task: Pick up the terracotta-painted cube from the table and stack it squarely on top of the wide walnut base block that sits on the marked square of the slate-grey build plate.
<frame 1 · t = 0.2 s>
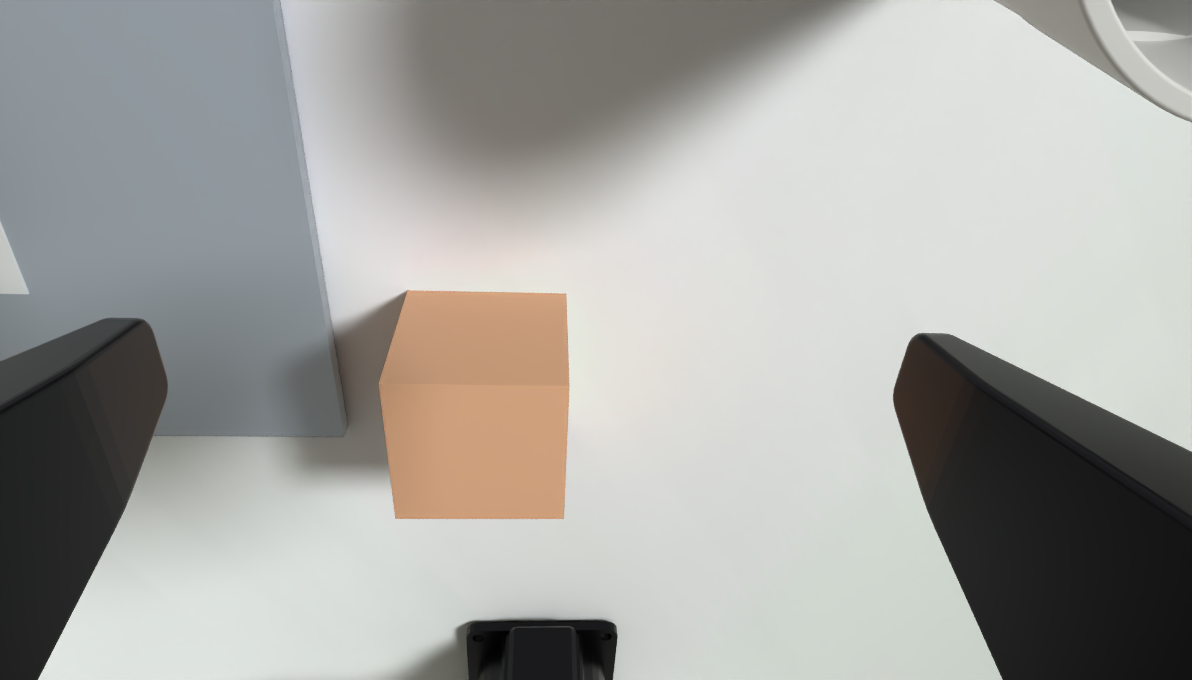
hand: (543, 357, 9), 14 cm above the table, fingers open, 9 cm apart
top block: (489, 355, 26), on the table
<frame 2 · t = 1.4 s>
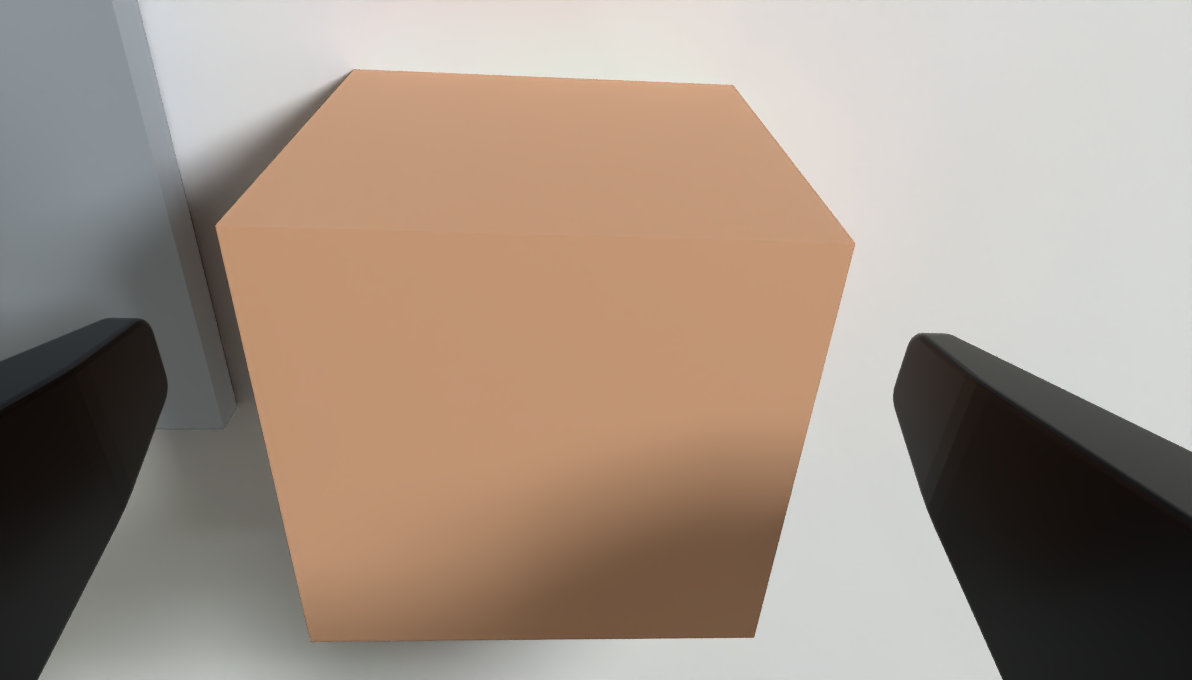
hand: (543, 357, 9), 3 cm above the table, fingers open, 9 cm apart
top block: (543, 246, 12), on the table
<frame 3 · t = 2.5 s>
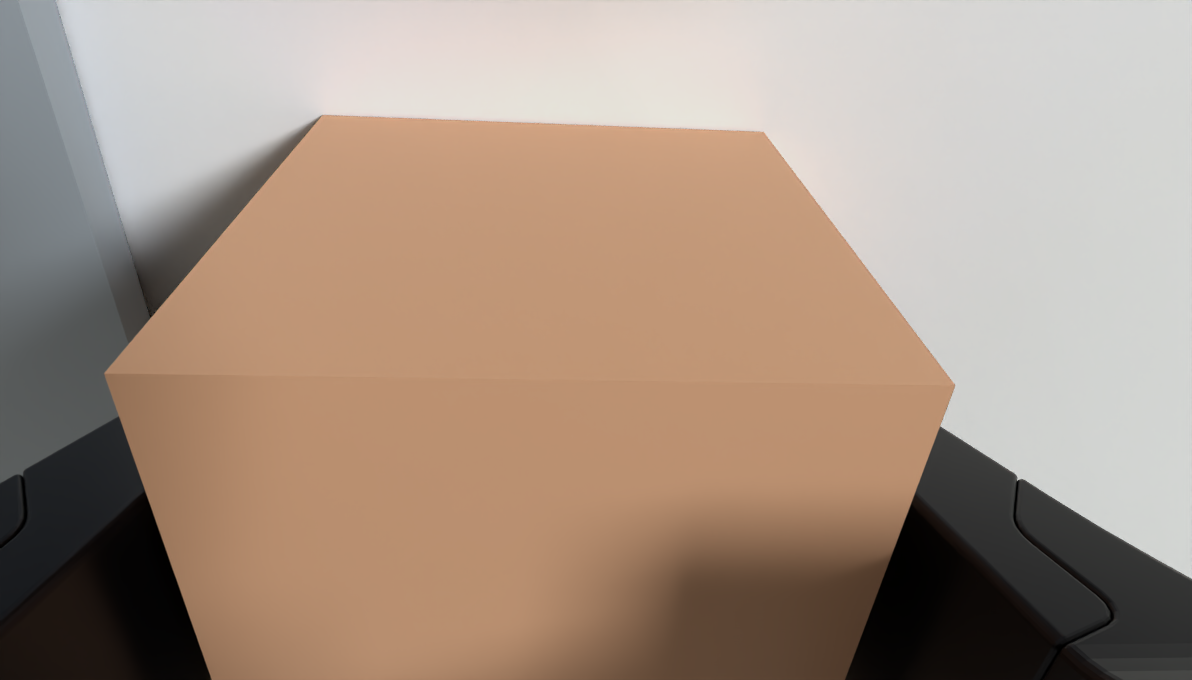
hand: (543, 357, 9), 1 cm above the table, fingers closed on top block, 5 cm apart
top block: (543, 313, 10), on the table, touching gripper
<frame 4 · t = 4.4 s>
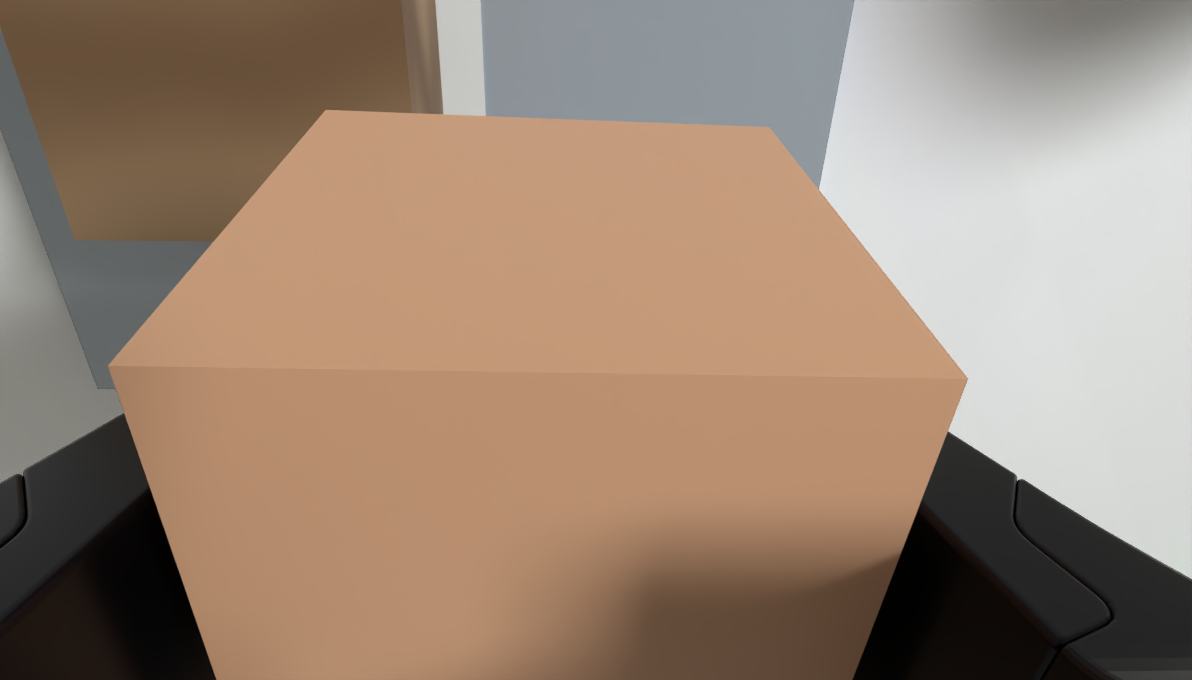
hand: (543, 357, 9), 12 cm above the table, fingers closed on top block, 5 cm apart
top block: (547, 309, 10), point 11 cm above the table, touching gripper
build plate: (426, 110, 19), on the table
base block: (280, 25, 17), point 1 cm above the table, touching build plate
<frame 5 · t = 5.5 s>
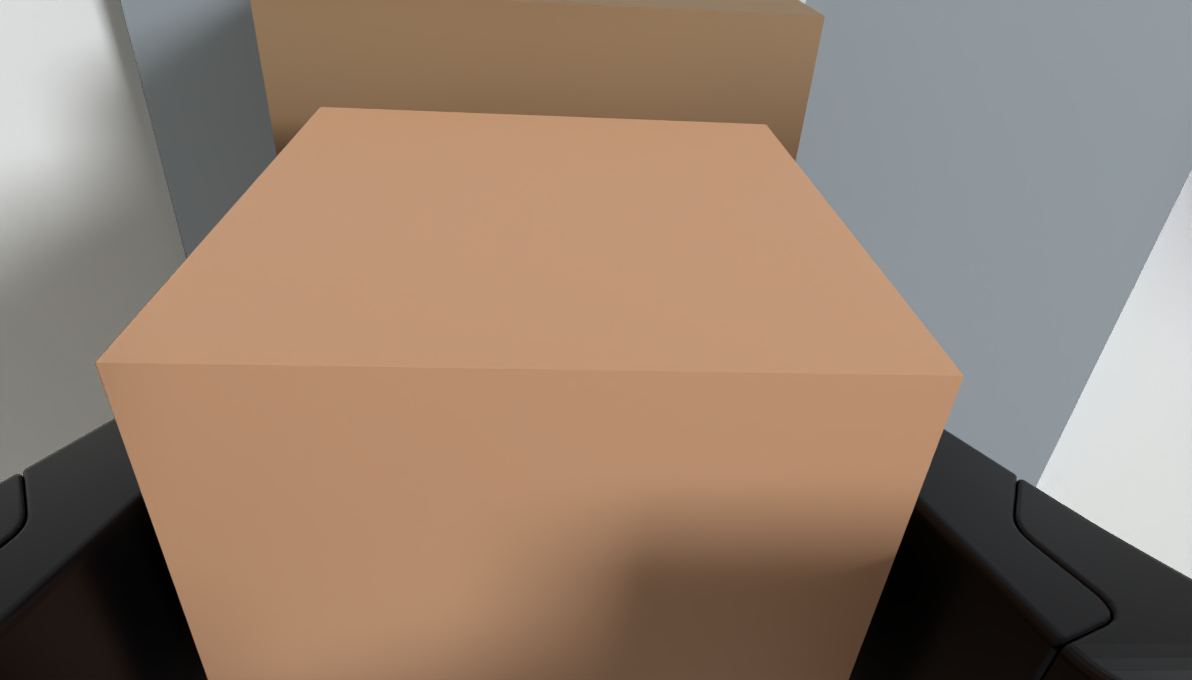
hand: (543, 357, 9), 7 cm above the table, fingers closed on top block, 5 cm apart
top block: (543, 308, 10), point 6 cm above the table, touching gripper
build plate: (680, 249, 16), on the table
base block: (541, 164, 15), point 1 cm above the table, touching build plate
when the fingers open (7 cm above the table, at t = 6.3 s): top block drops 1 cm, resting on base block.
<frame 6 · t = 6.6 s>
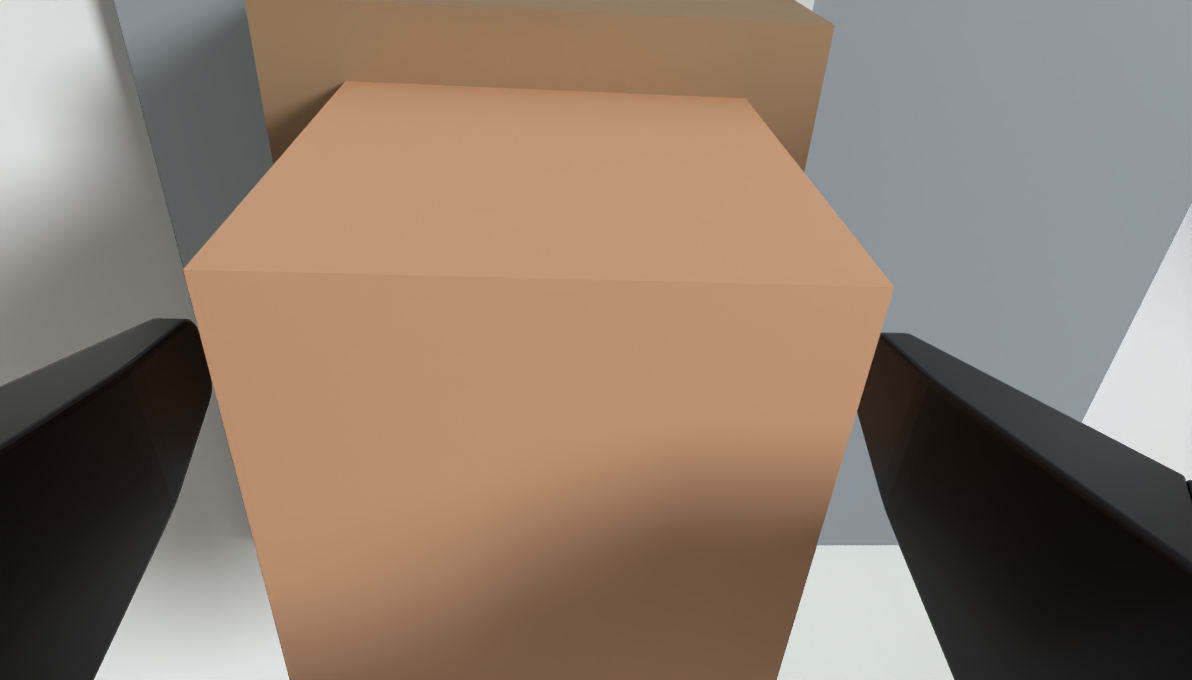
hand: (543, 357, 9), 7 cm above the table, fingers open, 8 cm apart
top block: (545, 268, 11), point 5 cm above the table, touching base block
build plate: (684, 258, 16), on the table
base block: (543, 173, 14), point 1 cm above the table, touching build plate, top block
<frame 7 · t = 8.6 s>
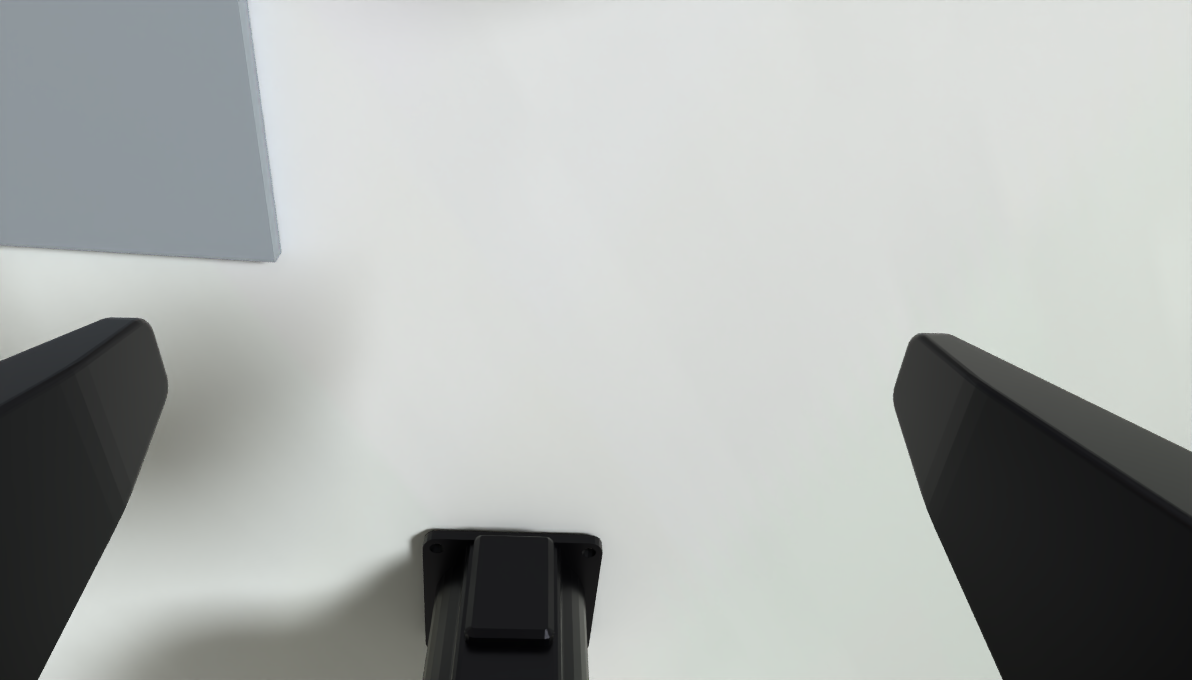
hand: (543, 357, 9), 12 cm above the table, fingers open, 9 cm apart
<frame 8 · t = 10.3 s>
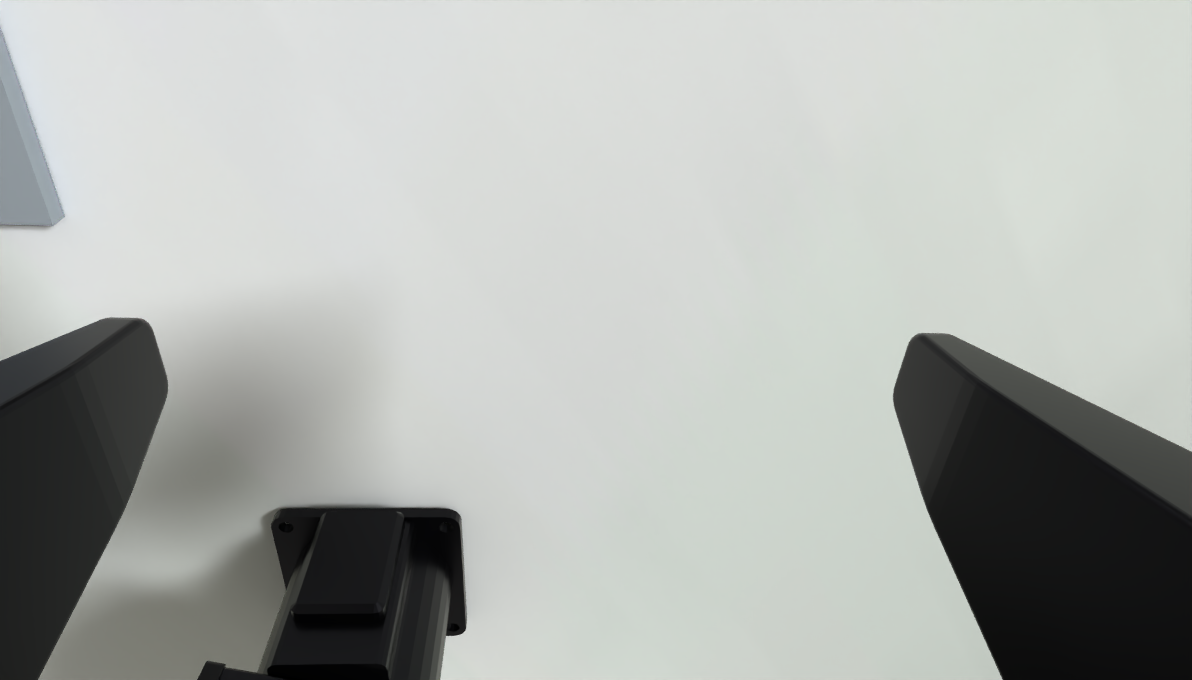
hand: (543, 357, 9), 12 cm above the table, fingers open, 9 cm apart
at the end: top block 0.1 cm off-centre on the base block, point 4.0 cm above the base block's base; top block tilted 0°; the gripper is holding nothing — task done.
